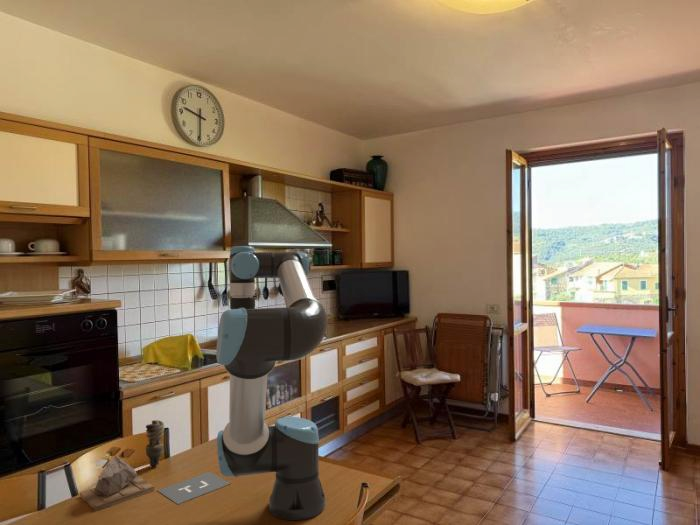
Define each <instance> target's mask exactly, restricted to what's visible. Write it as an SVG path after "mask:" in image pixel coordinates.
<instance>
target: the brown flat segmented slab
mask: <svg viewBox="0 0 700 525" xmlns="http://www.w3.org/2000/svg"><path fill="white" fill-rule="evenodd" d="M154 491H155V486H154V485H153V484H151V483H150V482H148V481H146V479H144V478H142V477H141V476H139V475H138V474H137V475H136V476H135V478H134V480H133V481H131V482H130V483H129V484H127V485H126V486H125V487H124V488H122V489H121V490H120V491H118V492H115V493H114V494H111V495H109V496H107V497H106V496H103V495H97V494H96V493H95V487H93V488H90V489H86V490H84V491H81V492H79V497H80V496H81V497H82V498H83V499H84V500H85V501H86V502H85V501H84V500H83V499H82V498H81V497H80V498H81V499H82V500H83V501H84V502H85V503H87V504H88V505H89V506H90V507H91V508H92V509H93V510H94V511H95V512H98V511H101V510H103V509H105V508H108V507H112V506H115V505H118V504H120V503H123V502H126V501H128V500H132V499H134V498H137V497H140V496H143V495H145V494H147V493H148V494H149V493H151V492H154Z"/></svg>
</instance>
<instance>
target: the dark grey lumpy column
mask: <svg viewBox="0 0 700 525" xmlns="http://www.w3.org/2000/svg"><path fill="white" fill-rule="evenodd" d="M145 428H146V431H145V432H146V438H148V439H147V440H148V444H146V446H145V454H146V456H147V458H148V459H149V466H150V467H151V468H155V466H156V467H157V465H160V457H161V456H162V455H163V452H164V443H163V442H161V439H162V438H163V436H164V434H165V433H164V431H165V423H164V422H163V421H162V420H157V419H155V420H152V421H151V424H147V425H146V426H145Z"/></svg>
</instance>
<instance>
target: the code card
mask: <svg viewBox="0 0 700 525" xmlns="http://www.w3.org/2000/svg"><path fill="white" fill-rule="evenodd" d="M230 485H232V483H230V482H229V481H227V480H225V479H223V478H222V477H219V476H218V475H216V474H214V473H213V472H210V471H208V472H206V473H205V472H204V473H203V474H200V475H196V476H193V477H192V478H188V479H186V480H183V481H180V482H178V483H175V484H172V485H169V486H166V487H163V488H160V489H159V490H158V489H157V492H158V493H159V494H161V495H162V496H164V497H166V498H168V499H169V500H170V501H172V502H173V503H175V505H180V504H184V503H186V502H189V501H191V500H193V499H195V498H198V497H201V496H204V495H206V494H209V493H212V492H213V491H216V490H219V489H222V488H224V487H226V486H230Z"/></svg>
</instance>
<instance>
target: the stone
mask: <svg viewBox="0 0 700 525" xmlns="http://www.w3.org/2000/svg"><path fill="white" fill-rule="evenodd" d="M136 475H138V473H137V471H136V470H135V469H134V468H133V467H131V465H130V464H128V463H127V462H125V461H124V460H123V459H122V458H120V457H119V456H117V455H115V456H114V457H113V458H111V459H110V460H109V461H108V463H107V464H106V466H105V467H104V469H103V470H102V472H101V473H99V475H98V481H97V483H96V485H95V486H94V488H95V493H96V494H97V495H103V496H106V497H107V496H109V495H111V494H114V493H115V492H118V491H120V490H121V489H122V488H124V487H125V486H126V485H127V484H129V483H130V482H131V481H133V480H134V478H135V476H136Z"/></svg>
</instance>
